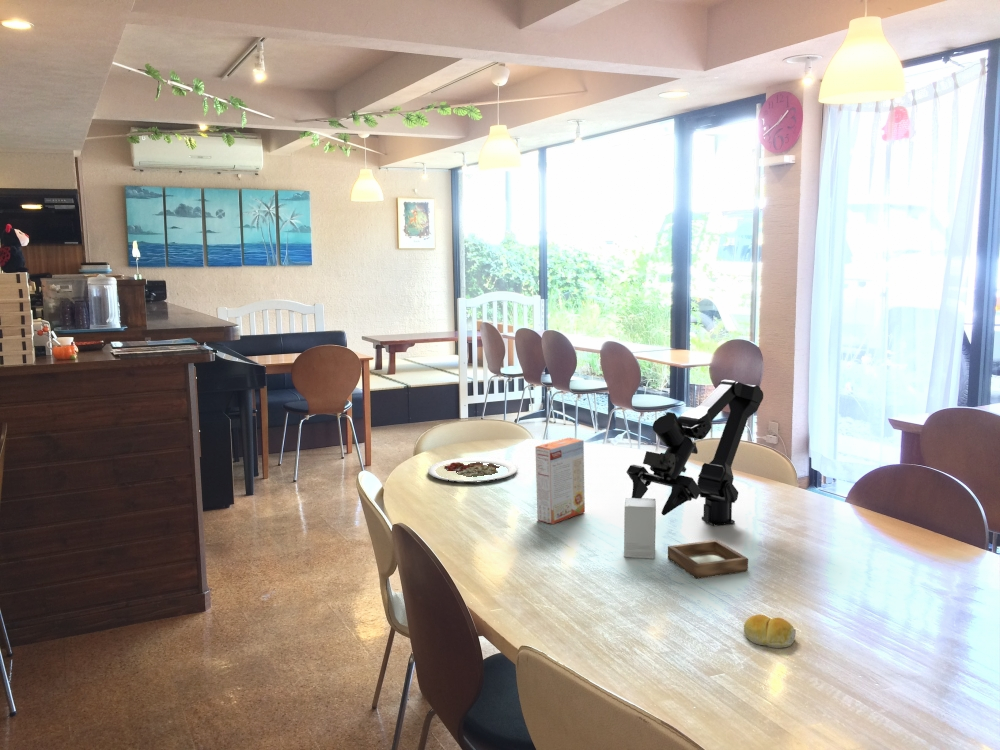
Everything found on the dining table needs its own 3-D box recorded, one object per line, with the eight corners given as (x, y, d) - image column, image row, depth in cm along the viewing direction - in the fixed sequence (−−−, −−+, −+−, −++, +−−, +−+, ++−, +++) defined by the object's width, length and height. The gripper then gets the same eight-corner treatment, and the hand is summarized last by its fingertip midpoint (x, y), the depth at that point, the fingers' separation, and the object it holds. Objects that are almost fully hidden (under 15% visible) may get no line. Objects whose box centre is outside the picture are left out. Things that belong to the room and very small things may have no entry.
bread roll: (750, 624, 154) (750, 604, 154) (798, 635, 149) (799, 615, 149) (737, 641, 147) (737, 621, 147) (787, 654, 143) (788, 632, 142)
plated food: (518, 485, 253) (518, 475, 252) (423, 487, 253) (423, 476, 253) (517, 461, 282) (517, 452, 282) (432, 463, 283) (432, 453, 282)
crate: (716, 551, 192) (716, 539, 191) (747, 571, 180) (748, 558, 179) (667, 558, 188) (667, 546, 188) (696, 578, 176) (696, 565, 176)
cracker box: (569, 508, 227) (568, 436, 224) (585, 513, 223) (585, 439, 220) (535, 520, 218) (534, 445, 215) (552, 525, 213) (551, 448, 210)
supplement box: (655, 559, 188) (655, 507, 186) (623, 557, 189) (623, 506, 188) (655, 548, 195) (656, 498, 193) (624, 546, 197) (625, 496, 195)
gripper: (631, 432, 201) (602, 484, 195) (694, 444, 187) (664, 500, 181) (650, 458, 207) (622, 508, 201) (712, 471, 193) (684, 525, 187)
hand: (647, 510), depth 193 cm, fingers open, 9 cm apart
